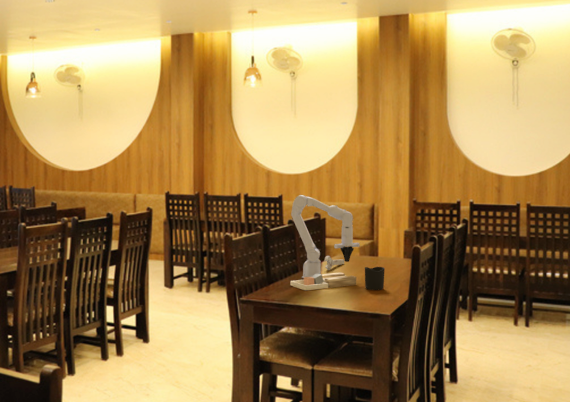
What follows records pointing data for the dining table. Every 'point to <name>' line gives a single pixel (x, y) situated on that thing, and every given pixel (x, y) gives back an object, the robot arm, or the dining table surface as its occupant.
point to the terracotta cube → (308, 281)
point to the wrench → (332, 262)
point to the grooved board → (338, 280)
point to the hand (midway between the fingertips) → (346, 261)
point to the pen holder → (374, 278)
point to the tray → (308, 287)
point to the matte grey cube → (317, 278)
